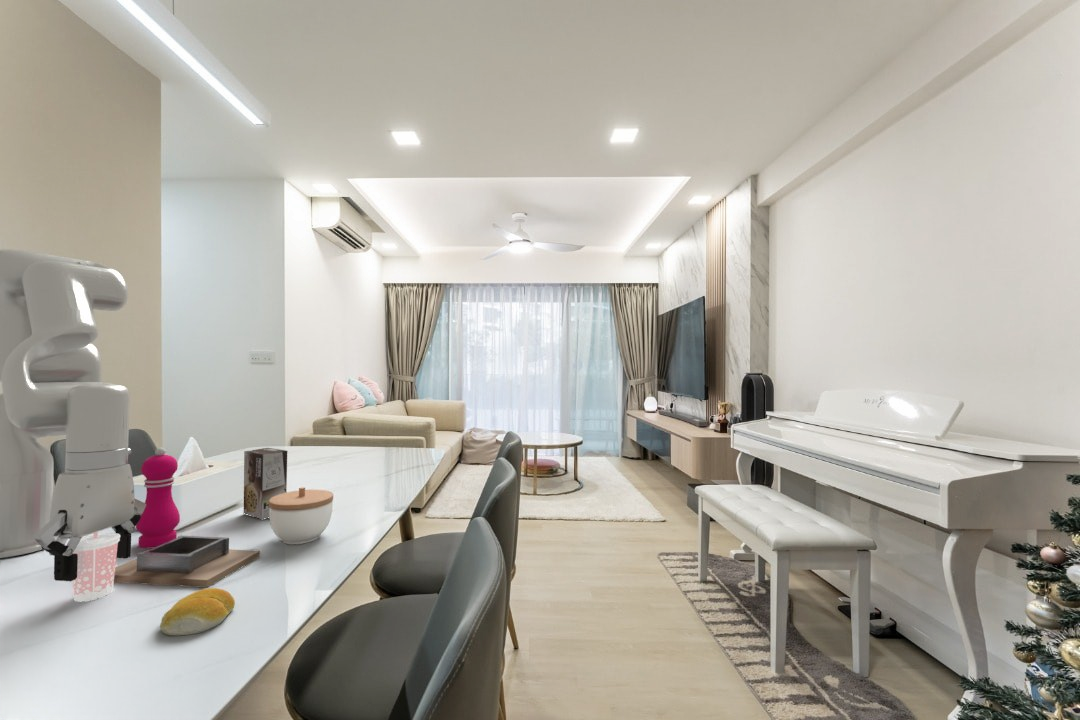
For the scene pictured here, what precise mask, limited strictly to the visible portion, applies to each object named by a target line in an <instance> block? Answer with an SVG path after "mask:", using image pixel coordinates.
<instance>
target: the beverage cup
mask: <svg viewBox="0 0 1080 720" xmlns="http://www.w3.org/2000/svg"><path fill="white" fill-rule="evenodd" d="M119 541H120V534H118V533H116V532H104V533H98V532H96V533H93V534H90V535H87V536H83V537H82V538H81V540H80V542H79V543H78V545H77V547H76V549H75V550H74V552H73V554H77V555H78V564H77V578H76V579H75V580H73V581H72V586H73V587H72V589H73V600H74V601H75V602H79V603H80V602H81V603H83V602H82V601H85V602H90V600H91V601H95V600H98V599H97V598H99V599H101V598H100V597H102V598H104V597H106V596H105V595H107V594H109V593H110V594H112V592H113V591H114V585H115V584H114V583H115V582H114V574H115V567H116V562H117V558H116V556H117V546H118V542H119ZM110 594H109V595H110ZM103 596H104V597H103ZM107 596H108V595H107ZM94 599H95V600H94Z"/></svg>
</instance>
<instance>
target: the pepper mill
mask: <svg viewBox="0 0 1080 720" xmlns="http://www.w3.org/2000/svg"><path fill="white" fill-rule="evenodd" d="M166 451H167V450H166V449H165V448H164V447H157V448H156V449H155V450H154V454H155V455H153V456H150V457H148V458H146V459H145V460H144V461H143V463H142V465H141V469H140V470H141V472H140V473H141V474H142V475H143V476H144V477H145V479H144V480H143V482H144V484H143V487H144V488H146V497H145V501H144V503H146V507H145V509H144V511H143V513H142V515H140V516H141V519H140V520H139V522H138V523H137V525H136V526H135V528H136V529H135V530H136V531H137V532H138V533H140V534H141V535H140V536H139V537H138V543H137V544H138V547H139V548H141V549H152V548H154V547H157V546H159V545H162V544H164V543H166V542H169V541H171V540H174V539H176V538H178V533H177V532H178V531H176V530H175V528H176V527H178V525H179V523H180V522H181V521H180V520H181V518H180V517H181V516H180V511H179V509H178V507H177V506H176V503H175V501H174V498H173V494H172V490H173V489H172V488H173V484H175V476H174V474H175V473H176V472H177V471H178V466H179V465H178V460H177V459H176V458H175V457H174V456H172V455H169V454H166Z"/></svg>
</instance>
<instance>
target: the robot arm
mask: <svg viewBox="0 0 1080 720" xmlns="http://www.w3.org/2000/svg"><path fill="white" fill-rule="evenodd" d="M128 298H129V289H128V285H127V282H126V280H125V277H123V275H122V274H121V273H120V272H118V271H117V269H116V270H115V269H114V268H111V267H110V266H108V265H105V264H104V263H100V262H96V261H92V260H85V259H79V258H73V257H66V256H61V255H56V254H55V255H54V254H50V253H49V254H48V253H44V252H43V253H42V252H38V251H37V252H36V251H31V250H30V251H29V250H22V249H12V248H10V249H8V248H6V249H5V248H1V249H0V382H1V388H2V393H0V559H4V558H11V557H16V556H21V555H22V556H23V555H26V554H30V553H35V552H38V551H41V550H43V551H46V552H47V553H48V554H49V556H54V560H53V575H54V576H53V577H54V578H53V580H55V581H59V582H60V581H61V582H73V580H75V579H76V578H77V564H78V555H77V554H73V552H74V550H75V549H76V547H77V545H78V543H79V542H80V540H81V538H82V537H86V536H90V535H93V534H94V533H96V532H97V533H99V532H103V531H104V530H107V529H110V528H111V529H112V530H113V532H114V533H118V534H120V541H119V542H118V546H117V556H116V559H128V558H130V557H131V555H132V534H133V533H135V531H136V530H137V529H136V525H137V523H138V522H139V520H140V519H141V516H140V515H142V513H143V511H144V509H145V507H146V503H145V501H141V500H139V499H137V498H135V483H134V475H133V471H132V466H131V464H129V456H131V454H132V449H131V448H130V447H129V431H130V430H129V429H130V398H131V396H130V390H129V389H128V387H126V386H124V385H120V384H114V383H111V382H102V378H103V376H102V375H103V363H102V356H101V353H100V351H99V349H98V348H97V347H96V346H95V345H94V344H93V343H94V342H95V341H96V340H97V338H98V335H99V329H98V324H97V321H96V316H95V312H94V310H95V311H96V310H98V311H108V312H116V311H120V310H121V309H123V308H124V307H125V305H126V303H127V302H128ZM58 436H65V454H64V455H65V460H64V461H65V463H64V464H65V465H64V472H60V473H58V477H57V479H56V481H55V485H54V466H55V465H54V457H53V455H52V453H51V452H50V450H49V449H47V448H46V447H44V446H43V445H42V444H40V443H39V442H38V440H37V439H40V438H46V437H58Z"/></svg>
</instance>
